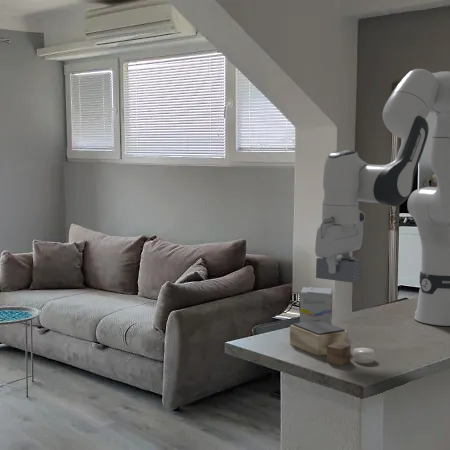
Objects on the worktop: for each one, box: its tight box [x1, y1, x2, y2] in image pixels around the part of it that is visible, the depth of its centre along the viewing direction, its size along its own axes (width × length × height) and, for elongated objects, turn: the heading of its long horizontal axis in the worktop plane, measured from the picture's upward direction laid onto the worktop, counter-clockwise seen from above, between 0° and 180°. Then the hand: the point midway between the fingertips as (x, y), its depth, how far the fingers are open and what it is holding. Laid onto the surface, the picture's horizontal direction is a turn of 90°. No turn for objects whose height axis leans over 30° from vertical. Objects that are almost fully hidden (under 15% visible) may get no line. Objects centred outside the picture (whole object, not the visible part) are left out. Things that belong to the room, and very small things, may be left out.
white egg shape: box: [352, 347, 375, 365], centre depth 166 cm, size 5×5×2 cm
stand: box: [289, 320, 348, 357], centre depth 176 cm, size 9×12×5 cm
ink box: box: [299, 286, 334, 325], centre depth 192 cm, size 9×9×12 cm
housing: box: [315, 256, 363, 283], centre depth 174 cm, size 10×5×6 cm, turn 56°
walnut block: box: [326, 343, 351, 366], centre depth 165 cm, size 4×4×4 cm
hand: (338, 271), depth 174 cm, fingers closed on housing, 5 cm apart
